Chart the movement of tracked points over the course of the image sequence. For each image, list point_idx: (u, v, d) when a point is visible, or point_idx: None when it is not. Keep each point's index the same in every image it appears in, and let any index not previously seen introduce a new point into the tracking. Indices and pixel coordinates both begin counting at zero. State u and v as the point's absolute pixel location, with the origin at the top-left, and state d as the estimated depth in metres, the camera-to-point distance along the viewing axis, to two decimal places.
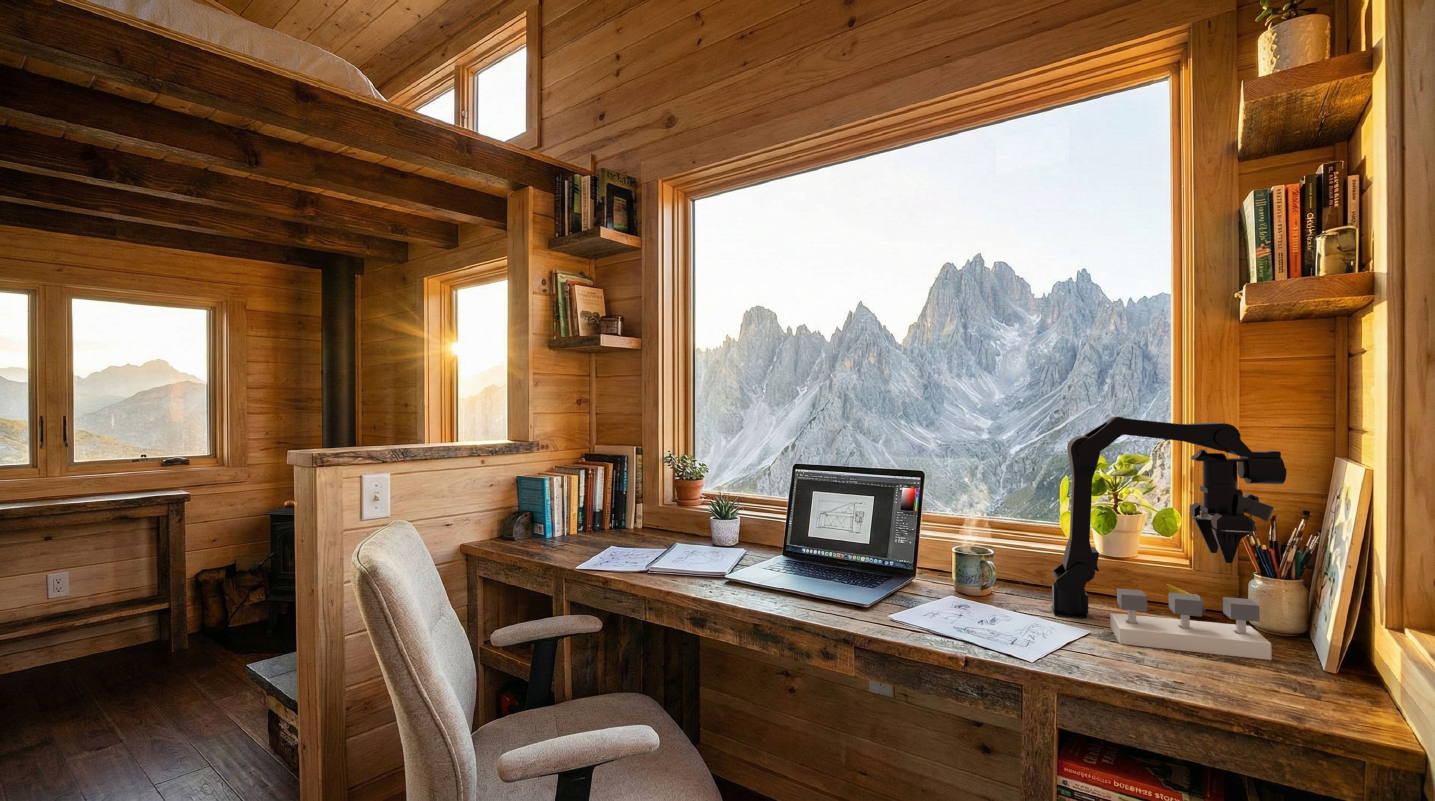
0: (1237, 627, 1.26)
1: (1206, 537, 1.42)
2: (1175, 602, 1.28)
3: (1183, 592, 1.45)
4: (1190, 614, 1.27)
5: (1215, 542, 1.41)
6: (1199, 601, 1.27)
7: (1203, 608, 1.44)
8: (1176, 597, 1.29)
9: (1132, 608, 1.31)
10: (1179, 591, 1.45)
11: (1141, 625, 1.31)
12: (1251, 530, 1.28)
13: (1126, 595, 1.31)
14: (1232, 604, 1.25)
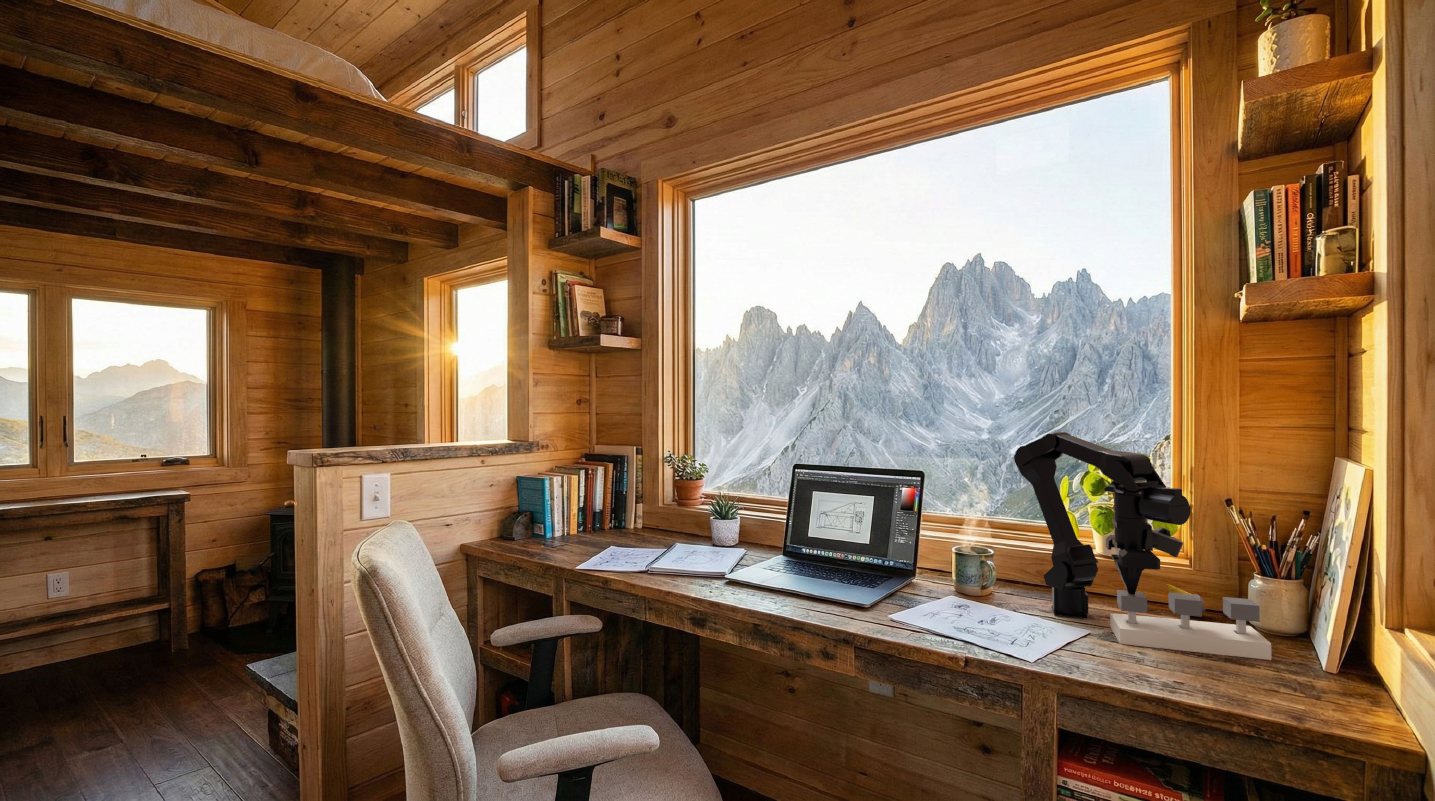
0: (1237, 627, 1.26)
1: None
2: (1175, 602, 1.28)
3: (1183, 592, 1.45)
4: (1190, 614, 1.27)
5: None
6: (1199, 601, 1.27)
7: (1203, 608, 1.44)
8: (1176, 597, 1.29)
9: (1132, 609, 1.31)
10: (1179, 591, 1.45)
11: (1141, 625, 1.31)
12: (1156, 568, 1.23)
13: (1126, 596, 1.31)
14: (1232, 604, 1.25)
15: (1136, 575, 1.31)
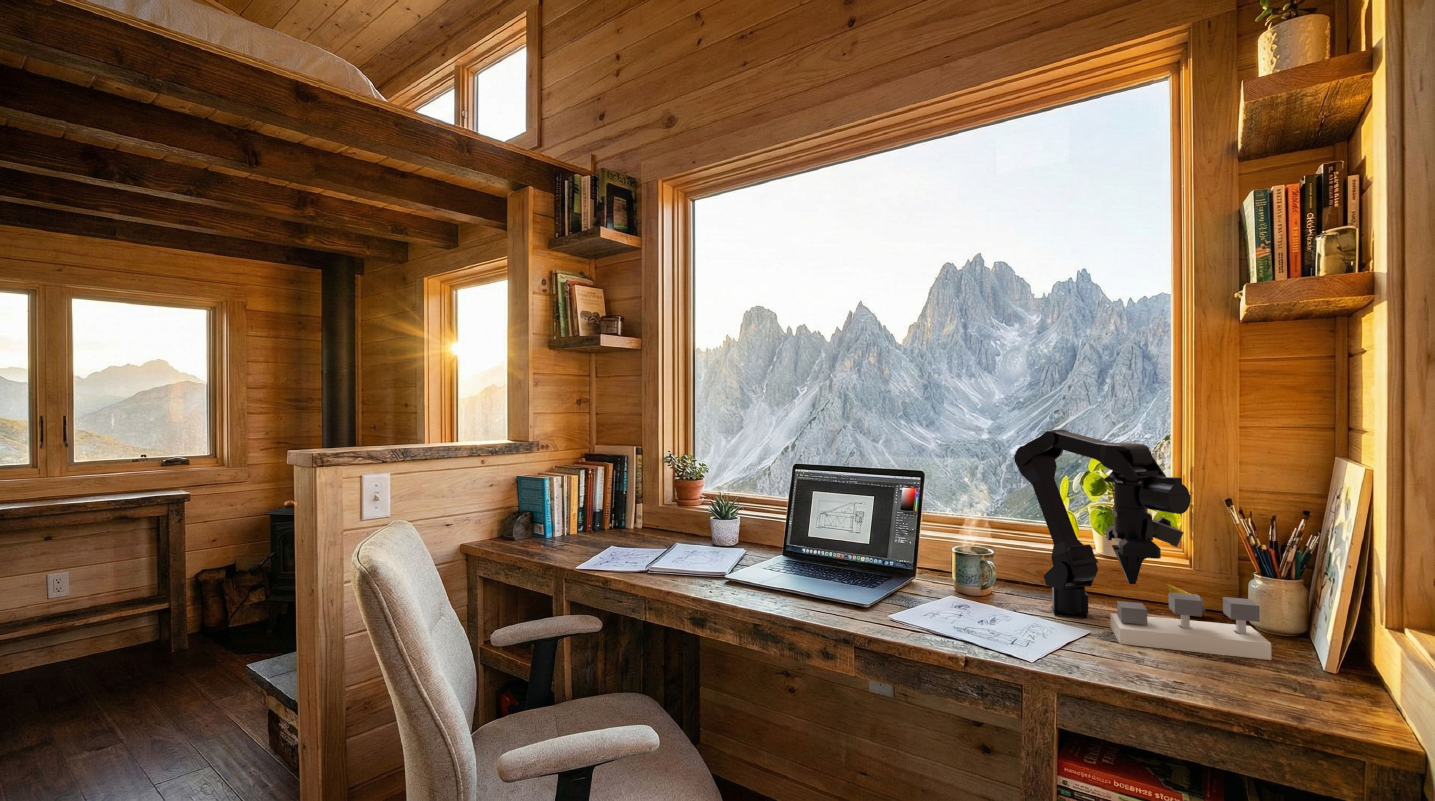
0: (1237, 627, 1.26)
1: None
2: (1175, 602, 1.28)
3: (1183, 592, 1.45)
4: (1190, 614, 1.27)
5: None
6: (1199, 601, 1.27)
7: (1203, 608, 1.44)
8: (1176, 597, 1.29)
9: (1132, 621, 1.31)
10: (1179, 591, 1.45)
11: (1141, 625, 1.31)
12: (1156, 557, 1.23)
13: (1126, 608, 1.31)
14: (1232, 604, 1.25)
15: (1136, 565, 1.31)
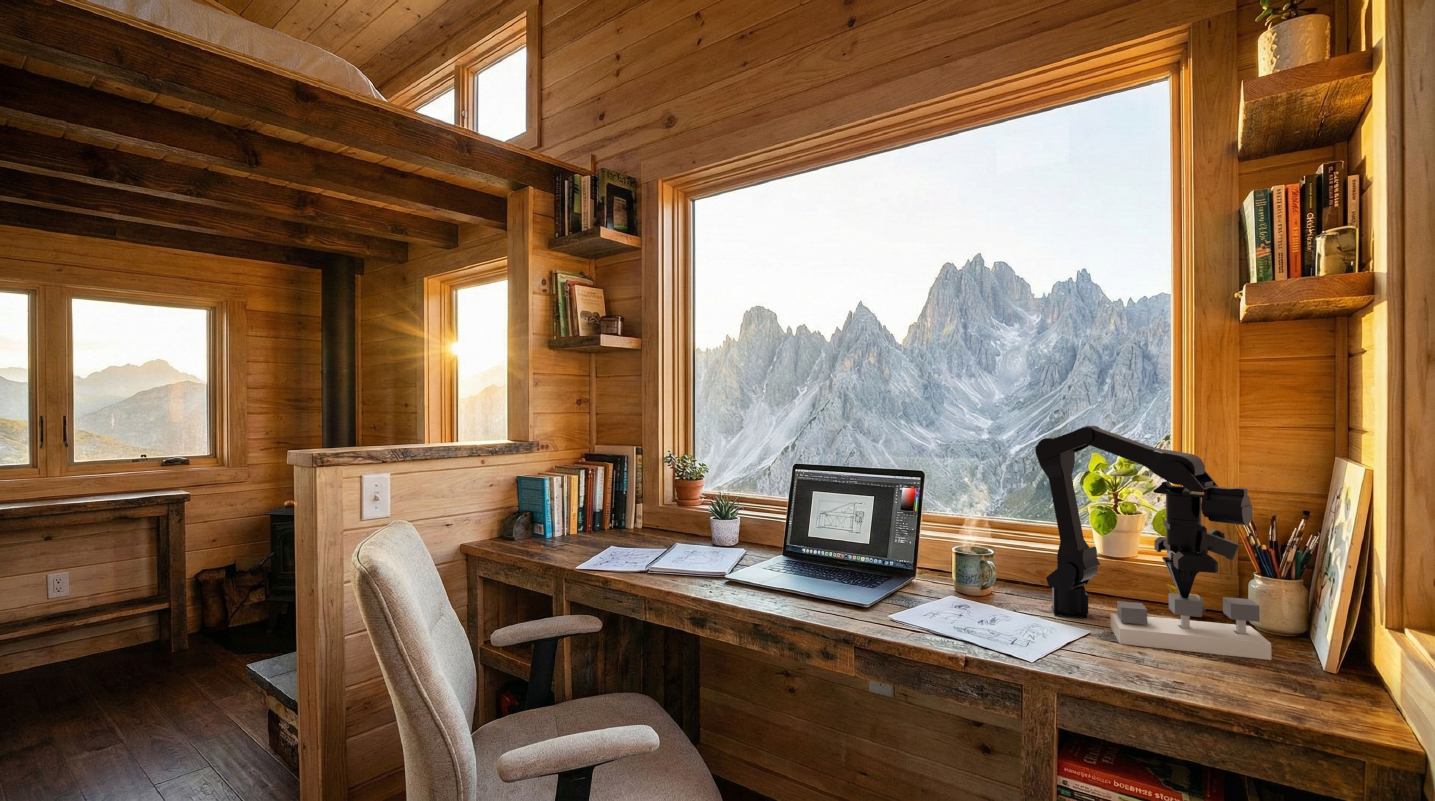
0: (1237, 627, 1.26)
1: None
2: (1175, 603, 1.28)
3: None
4: (1190, 615, 1.27)
5: None
6: (1199, 602, 1.27)
7: (1203, 608, 1.44)
8: (1176, 598, 1.29)
9: (1132, 621, 1.31)
10: None
11: (1141, 625, 1.31)
12: (1214, 571, 1.20)
13: (1126, 608, 1.31)
14: (1232, 604, 1.25)
15: (1190, 578, 1.28)
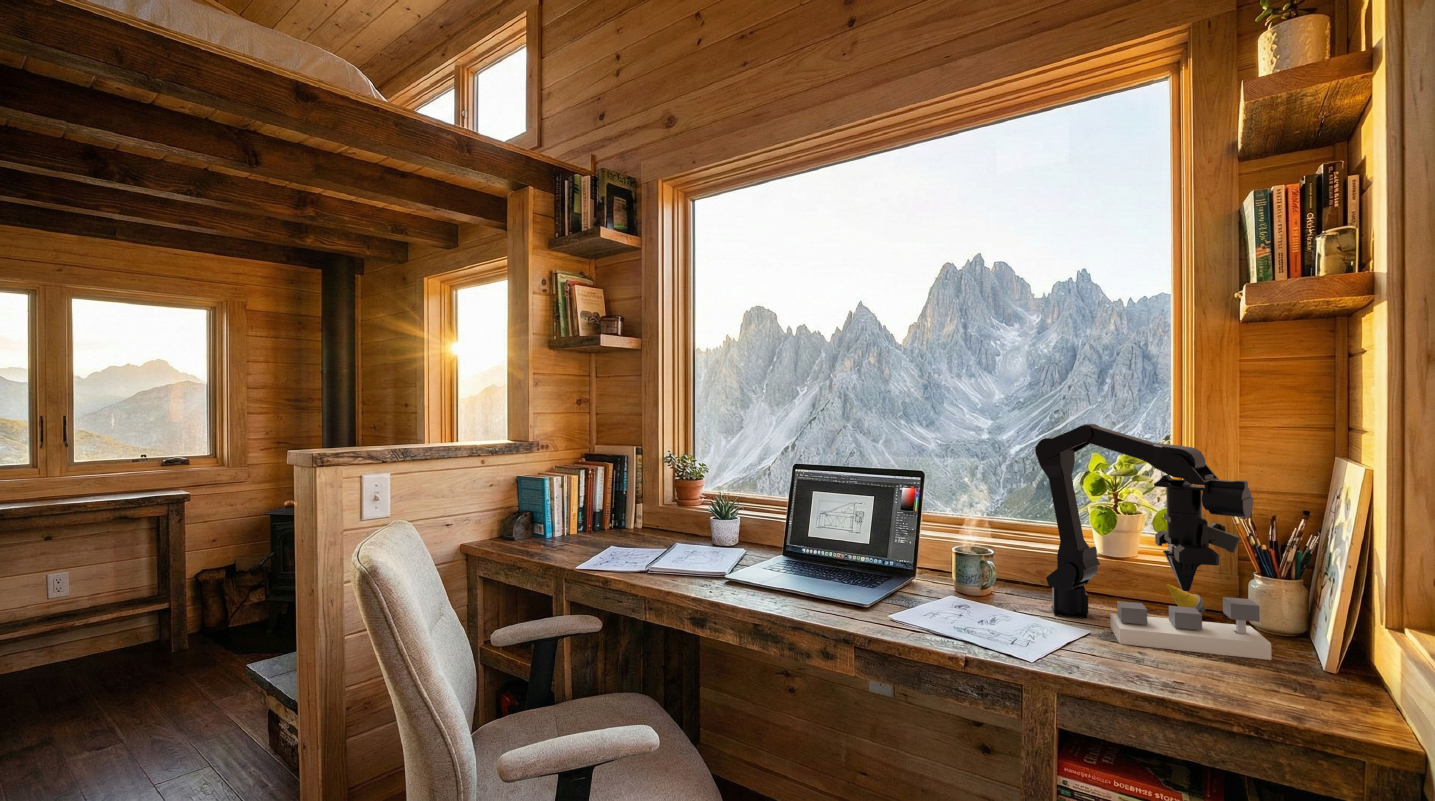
0: (1237, 627, 1.26)
1: None
2: (1175, 615, 1.28)
3: (1183, 592, 1.45)
4: (1190, 627, 1.27)
5: None
6: (1199, 615, 1.27)
7: (1203, 608, 1.44)
8: (1176, 610, 1.29)
9: (1132, 621, 1.31)
10: (1179, 591, 1.45)
11: (1141, 625, 1.31)
12: (1215, 564, 1.20)
13: (1126, 608, 1.31)
14: (1232, 604, 1.25)
15: (1191, 571, 1.28)
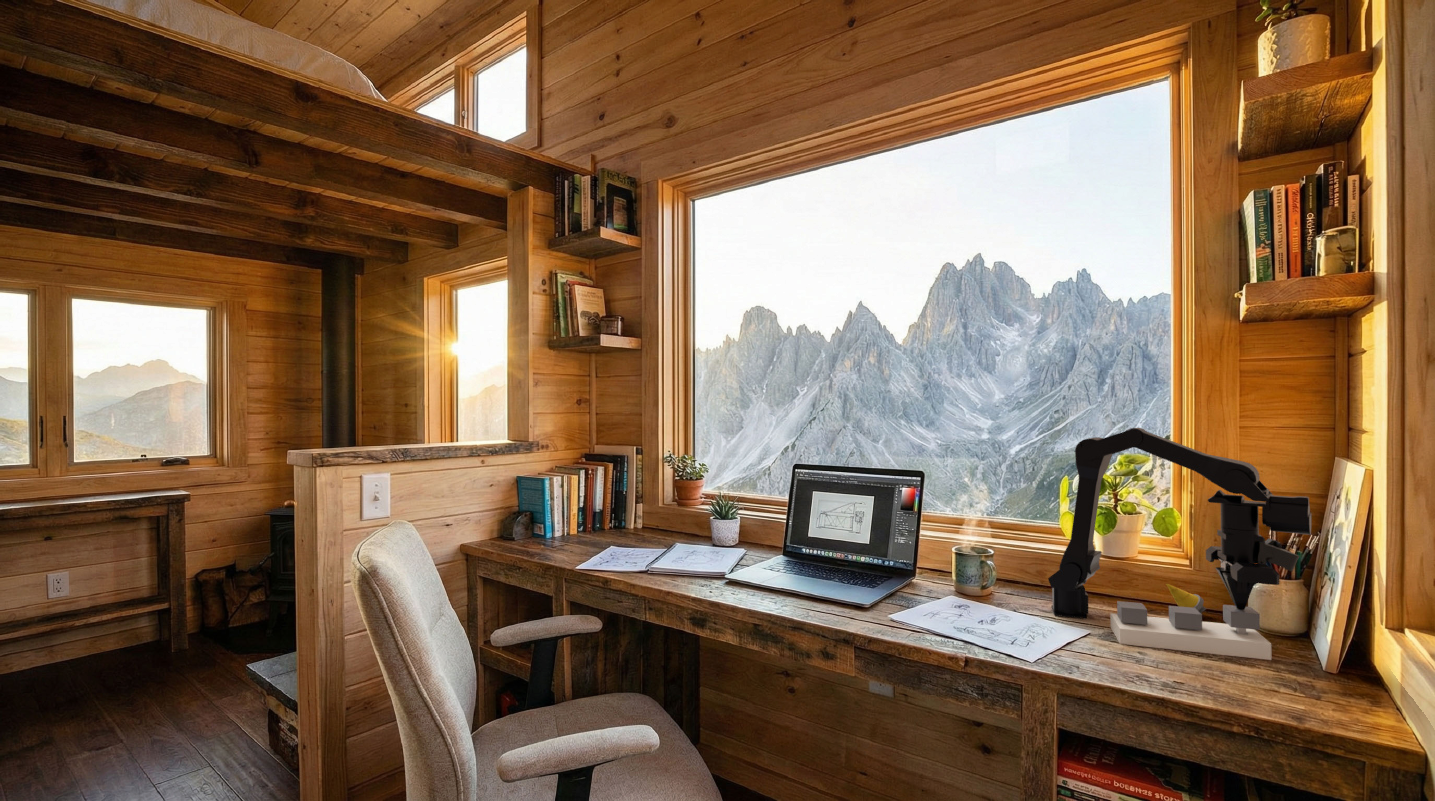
0: None
1: None
2: (1175, 615, 1.28)
3: (1183, 592, 1.45)
4: (1190, 627, 1.27)
5: None
6: (1199, 615, 1.27)
7: (1203, 608, 1.44)
8: (1176, 610, 1.29)
9: (1132, 621, 1.31)
10: (1179, 591, 1.45)
11: (1141, 625, 1.31)
12: (1275, 583, 1.17)
13: (1126, 608, 1.31)
14: (1232, 612, 1.25)
15: (1247, 590, 1.25)
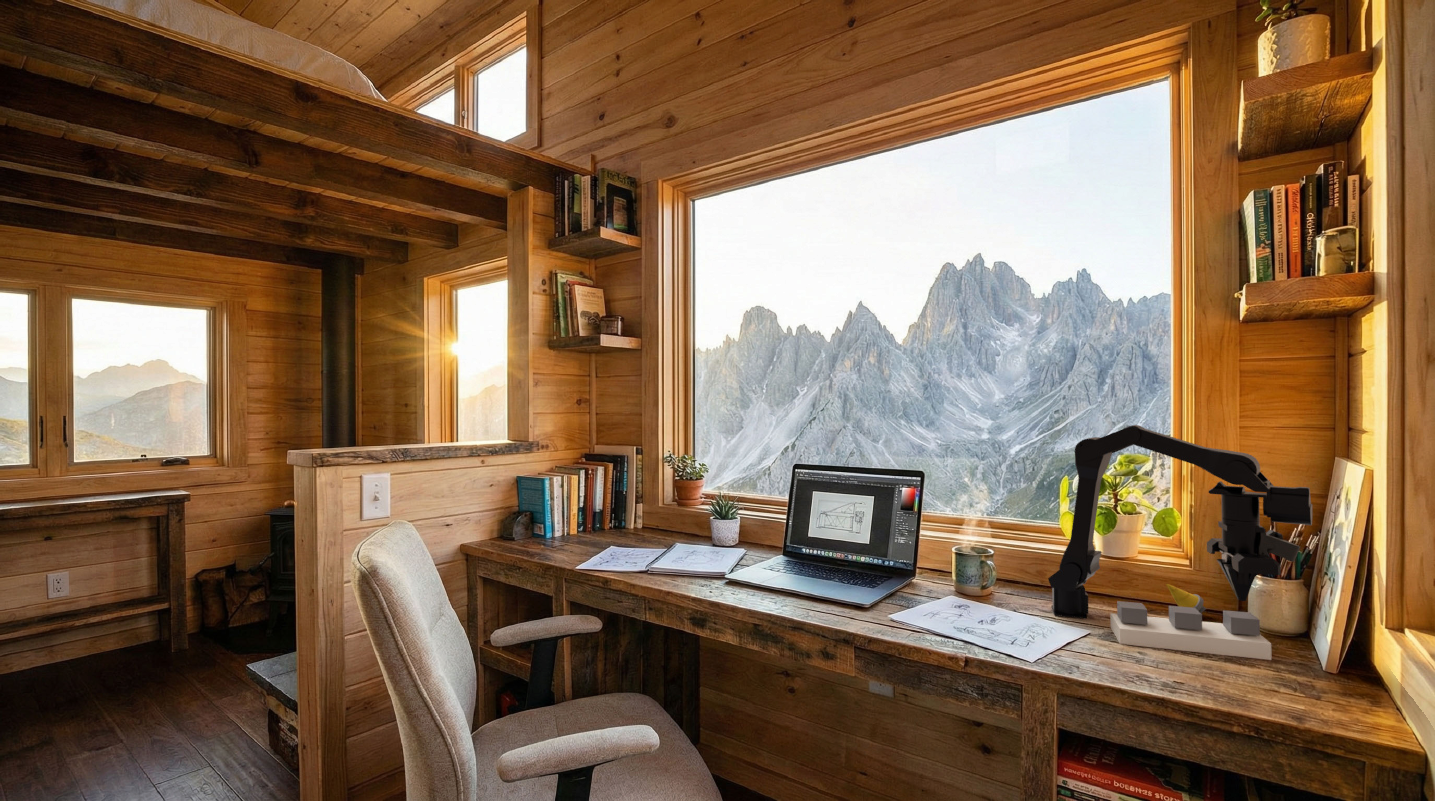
0: None
1: None
2: (1175, 615, 1.28)
3: (1183, 592, 1.45)
4: (1190, 627, 1.27)
5: None
6: (1199, 615, 1.27)
7: (1203, 608, 1.44)
8: (1176, 610, 1.29)
9: (1132, 621, 1.31)
10: (1179, 591, 1.45)
11: (1141, 625, 1.31)
12: (1276, 574, 1.17)
13: (1126, 608, 1.31)
14: (1232, 618, 1.25)
15: (1248, 581, 1.25)
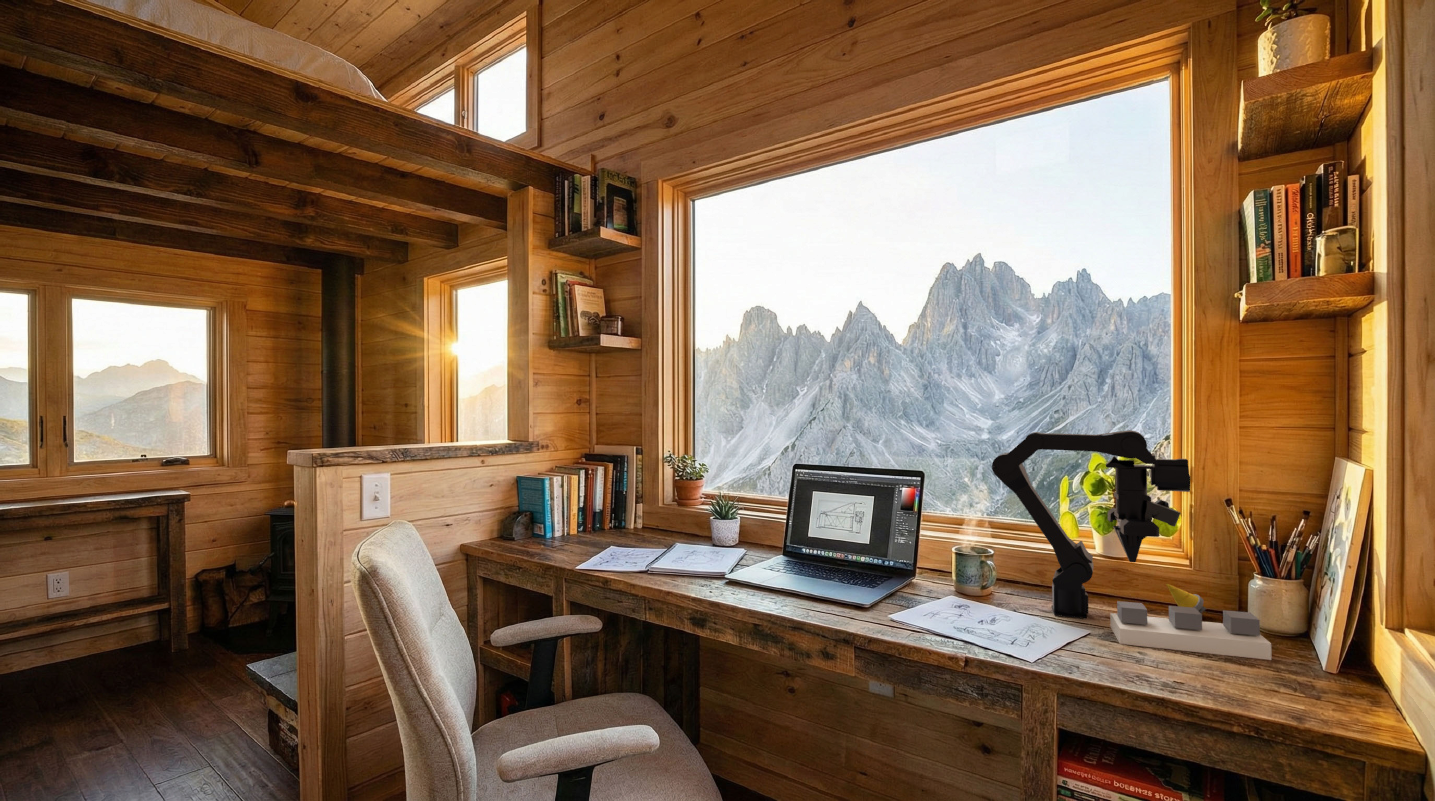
0: None
1: None
2: (1175, 615, 1.28)
3: (1183, 592, 1.45)
4: (1190, 627, 1.27)
5: None
6: (1199, 615, 1.27)
7: (1203, 608, 1.44)
8: (1176, 610, 1.29)
9: (1132, 621, 1.31)
10: (1179, 591, 1.45)
11: (1141, 625, 1.31)
12: (1155, 535, 1.32)
13: (1126, 608, 1.31)
14: (1232, 618, 1.25)
15: (1136, 544, 1.40)
